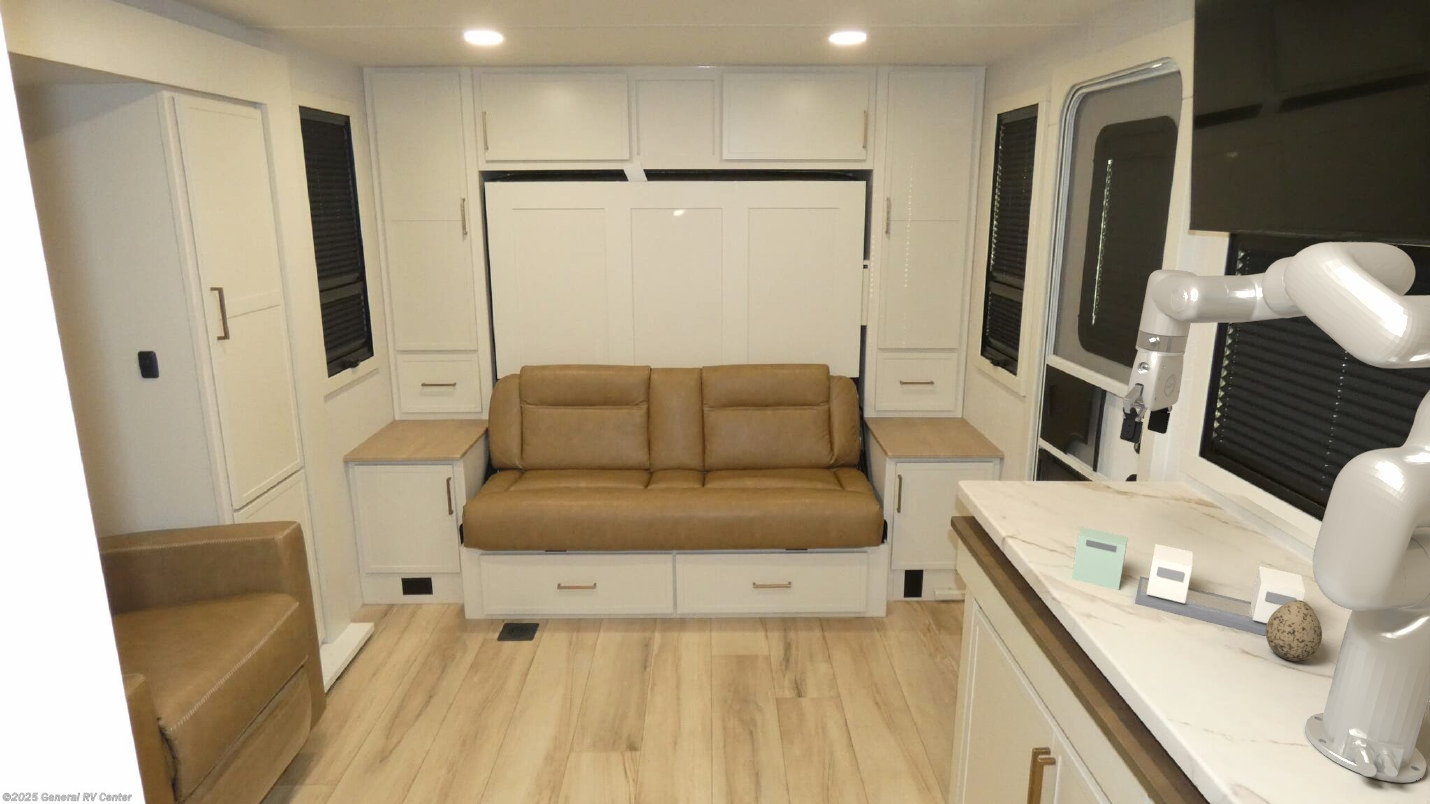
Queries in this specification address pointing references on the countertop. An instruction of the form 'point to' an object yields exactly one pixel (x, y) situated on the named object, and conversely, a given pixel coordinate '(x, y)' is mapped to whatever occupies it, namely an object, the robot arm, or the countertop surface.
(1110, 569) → the block
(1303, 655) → the decorative egg
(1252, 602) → the board
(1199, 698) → the countertop surface
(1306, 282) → the robot arm
